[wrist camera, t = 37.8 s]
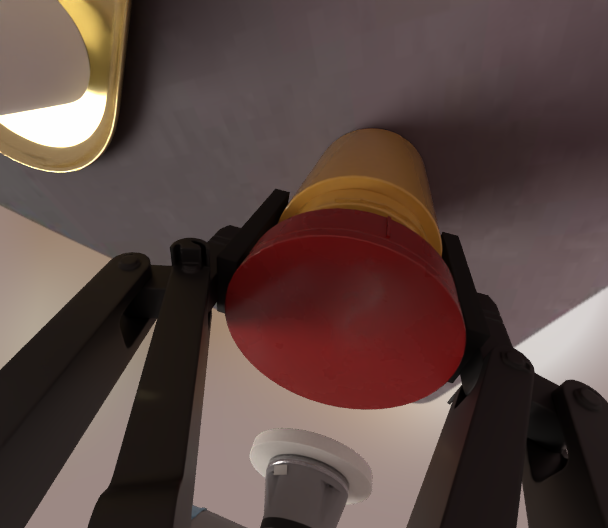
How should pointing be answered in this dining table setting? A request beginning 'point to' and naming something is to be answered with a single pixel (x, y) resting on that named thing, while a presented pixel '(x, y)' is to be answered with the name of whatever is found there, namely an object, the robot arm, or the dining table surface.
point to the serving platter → (86, 111)
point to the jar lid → (347, 310)
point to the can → (40, 56)
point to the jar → (371, 182)
